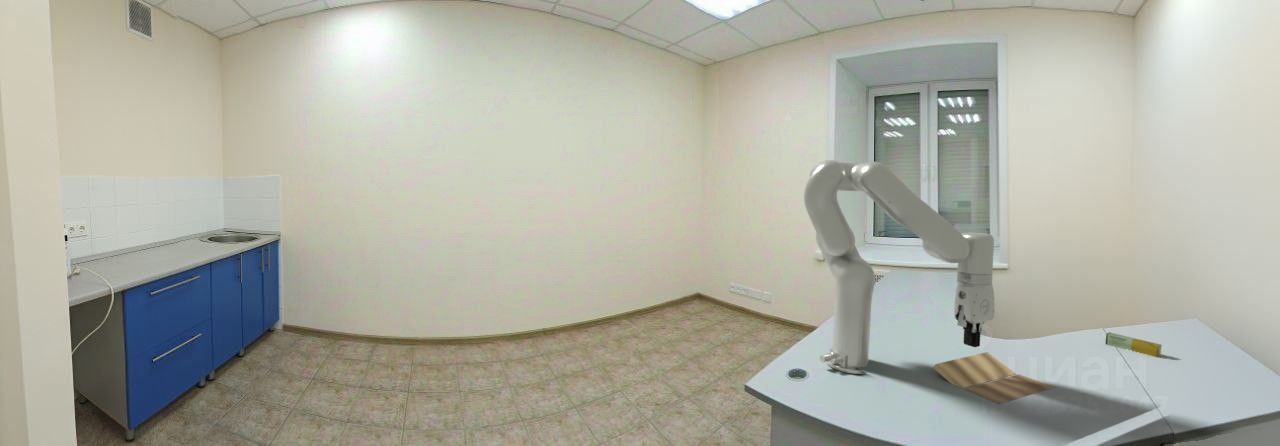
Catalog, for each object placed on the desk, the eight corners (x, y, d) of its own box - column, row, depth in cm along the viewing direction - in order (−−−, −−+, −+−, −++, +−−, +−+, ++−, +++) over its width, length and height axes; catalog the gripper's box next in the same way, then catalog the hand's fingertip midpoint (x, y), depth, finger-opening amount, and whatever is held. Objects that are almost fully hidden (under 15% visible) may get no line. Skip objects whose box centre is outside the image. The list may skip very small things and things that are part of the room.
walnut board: (998, 410, 105) (999, 403, 104) (963, 394, 112) (963, 389, 112) (1054, 392, 113) (1055, 386, 113) (1018, 379, 121) (1018, 374, 121)
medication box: (1104, 344, 147) (1105, 333, 147) (1108, 343, 148) (1109, 331, 148) (1157, 358, 136) (1158, 345, 136) (1161, 356, 138) (1162, 344, 137)
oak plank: (960, 391, 113) (963, 387, 112) (933, 367, 119) (935, 363, 119) (1012, 377, 121) (1015, 373, 121) (984, 355, 128) (987, 352, 127)
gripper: (971, 284, 113) (968, 354, 115) (1007, 278, 119) (1004, 345, 121) (941, 279, 120) (939, 345, 122) (977, 273, 126) (974, 336, 127)
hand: (971, 345), depth 121 cm, fingers closed
